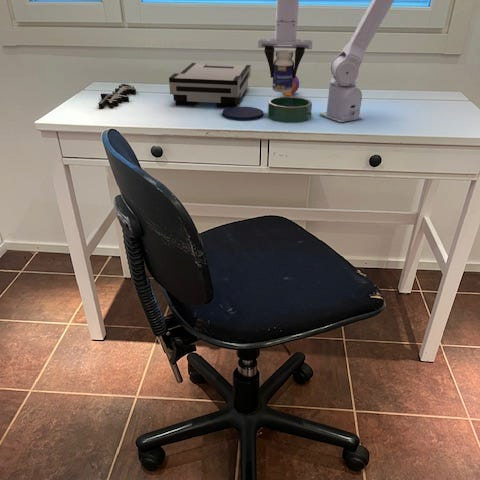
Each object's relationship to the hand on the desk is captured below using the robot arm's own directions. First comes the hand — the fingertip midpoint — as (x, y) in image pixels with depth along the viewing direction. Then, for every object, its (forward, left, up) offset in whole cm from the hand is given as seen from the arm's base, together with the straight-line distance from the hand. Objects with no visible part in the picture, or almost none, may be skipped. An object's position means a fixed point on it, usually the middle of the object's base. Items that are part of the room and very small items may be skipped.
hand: (283, 77), depth 136 cm
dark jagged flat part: (+44, +34, -11) cm, 57 cm away
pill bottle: (0, 0, -4) cm, 4 cm away
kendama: (+16, -14, -11) cm, 24 cm away
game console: (+31, +6, -11) cm, 33 cm away
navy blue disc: (+7, +9, -10) cm, 15 cm away
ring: (-1, -2, -10) cm, 11 cm away
